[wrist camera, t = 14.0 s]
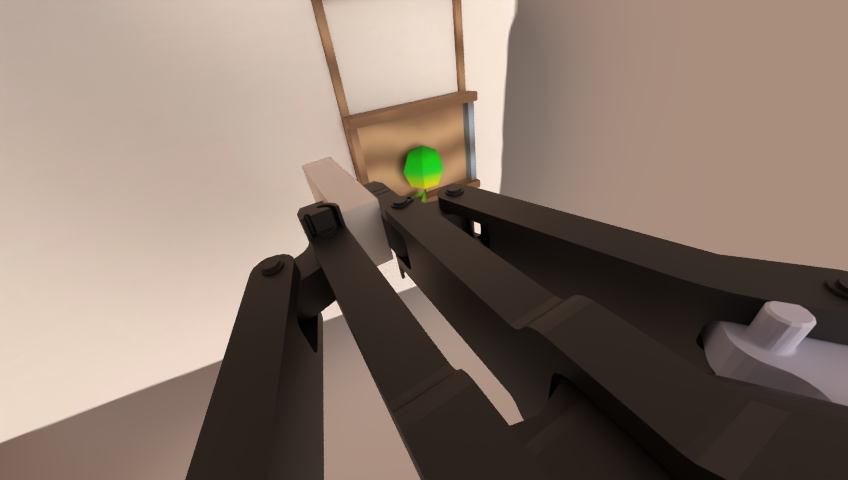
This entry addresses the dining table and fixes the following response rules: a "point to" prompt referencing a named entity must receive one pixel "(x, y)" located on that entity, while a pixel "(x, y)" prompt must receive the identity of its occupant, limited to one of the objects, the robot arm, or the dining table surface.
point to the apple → (423, 169)
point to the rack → (409, 127)
